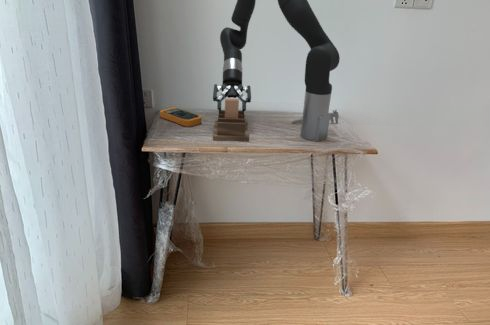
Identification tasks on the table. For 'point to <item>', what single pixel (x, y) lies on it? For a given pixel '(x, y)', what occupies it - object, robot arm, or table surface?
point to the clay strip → (231, 108)
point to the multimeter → (181, 117)
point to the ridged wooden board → (231, 128)
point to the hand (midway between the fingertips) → (231, 110)
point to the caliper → (334, 114)
